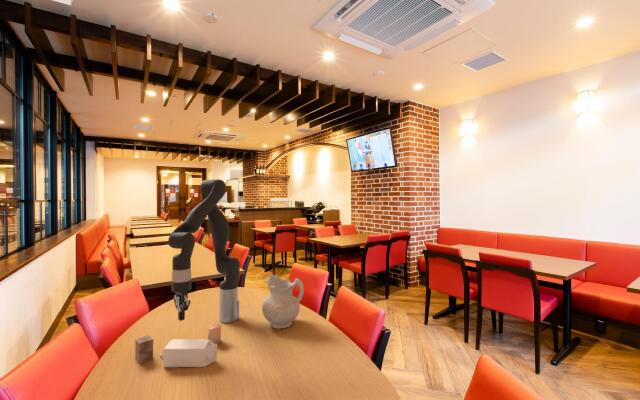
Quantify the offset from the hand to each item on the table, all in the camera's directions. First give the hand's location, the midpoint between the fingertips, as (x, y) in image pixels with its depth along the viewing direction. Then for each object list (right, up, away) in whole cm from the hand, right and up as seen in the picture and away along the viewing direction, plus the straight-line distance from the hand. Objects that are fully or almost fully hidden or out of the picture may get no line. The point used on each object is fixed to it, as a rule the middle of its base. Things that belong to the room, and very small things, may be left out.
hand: (181, 319), depth 125 cm
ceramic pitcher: (+40, -13, +26) cm, 50 cm away
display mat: (+4, -13, -4) cm, 14 cm away
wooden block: (-12, -13, -7) cm, 19 cm away
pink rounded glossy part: (+12, -13, +7) cm, 19 cm away
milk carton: (-1, -9, -10) cm, 14 cm away
